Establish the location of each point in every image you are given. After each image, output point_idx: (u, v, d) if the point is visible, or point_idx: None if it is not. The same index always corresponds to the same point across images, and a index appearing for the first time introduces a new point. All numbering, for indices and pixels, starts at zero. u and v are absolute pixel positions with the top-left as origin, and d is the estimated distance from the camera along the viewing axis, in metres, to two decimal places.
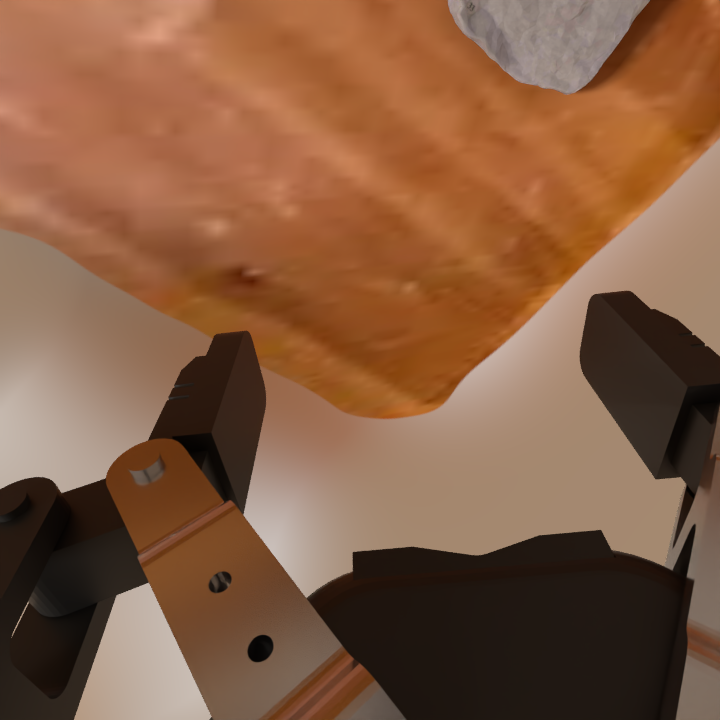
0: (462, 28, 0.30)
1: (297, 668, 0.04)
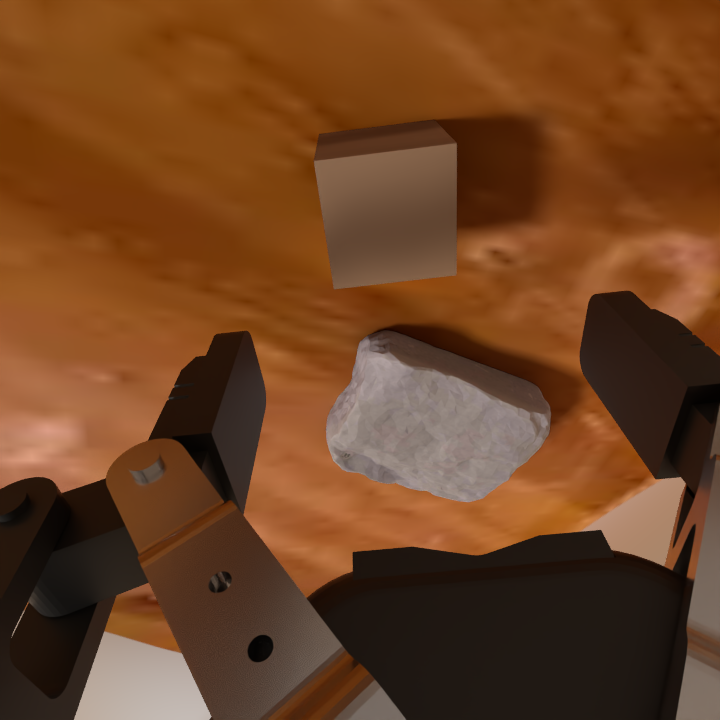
0: (340, 466, 0.29)
1: (297, 668, 0.04)
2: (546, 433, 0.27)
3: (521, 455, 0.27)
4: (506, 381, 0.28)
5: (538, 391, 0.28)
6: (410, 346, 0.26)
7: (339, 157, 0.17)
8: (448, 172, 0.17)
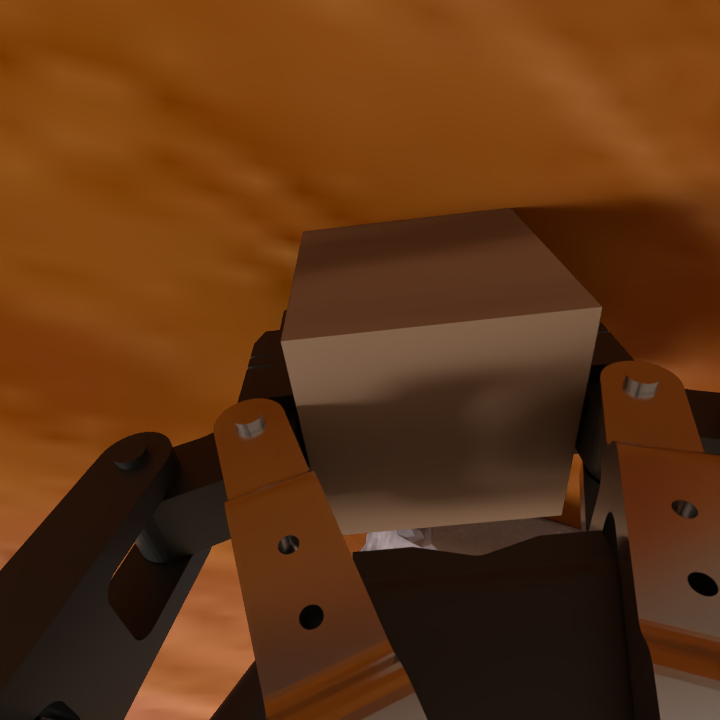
0: None
1: (340, 646, 0.05)
2: None
3: None
4: None
5: None
6: None
7: (337, 332, 0.08)
8: (574, 360, 0.08)
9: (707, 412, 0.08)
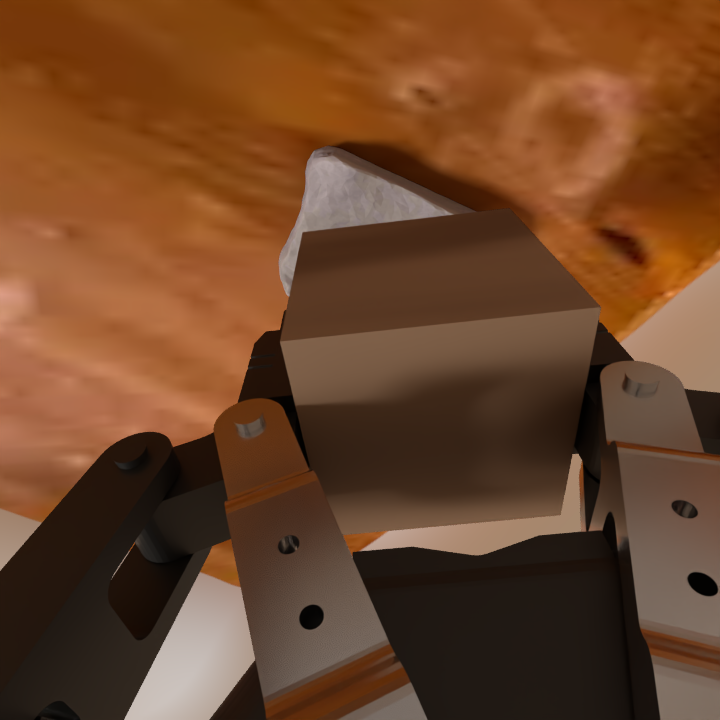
0: None
1: (340, 646, 0.05)
2: None
3: None
4: (455, 205, 0.28)
5: None
6: (356, 159, 0.26)
7: (336, 332, 0.08)
8: (573, 360, 0.08)
9: (707, 412, 0.08)
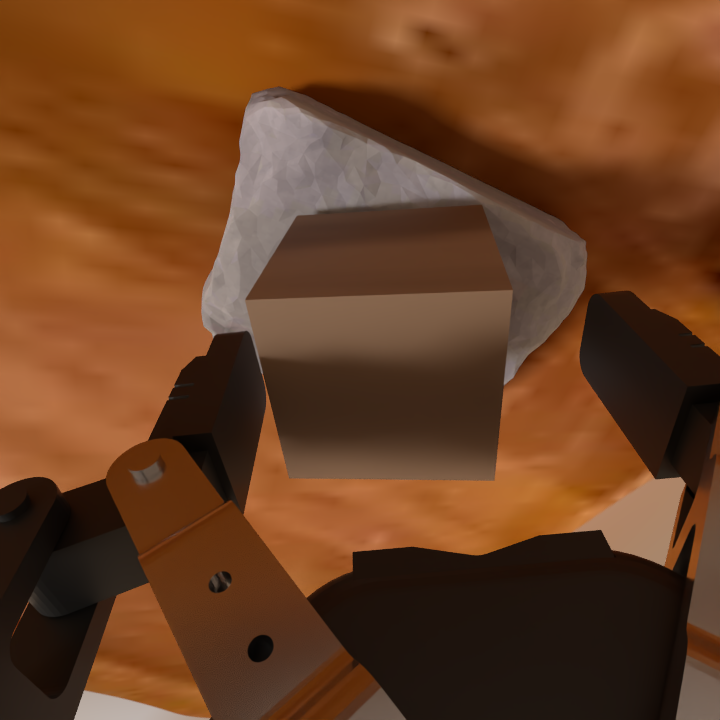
0: None
1: (297, 667, 0.04)
2: (581, 284, 0.15)
3: (536, 324, 0.15)
4: (508, 198, 0.16)
5: (564, 224, 0.17)
6: (330, 112, 0.14)
7: (291, 296, 0.09)
8: (492, 336, 0.09)
9: None
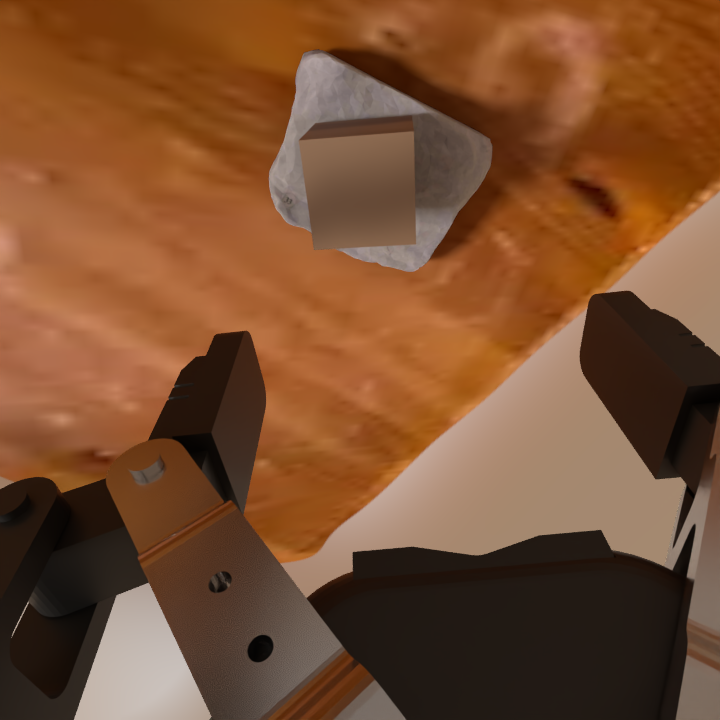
0: None
1: (297, 668, 0.04)
2: (486, 162, 0.27)
3: (461, 185, 0.27)
4: None
5: (481, 133, 0.28)
6: (346, 63, 0.26)
7: (319, 138, 0.21)
8: (407, 155, 0.21)
9: None
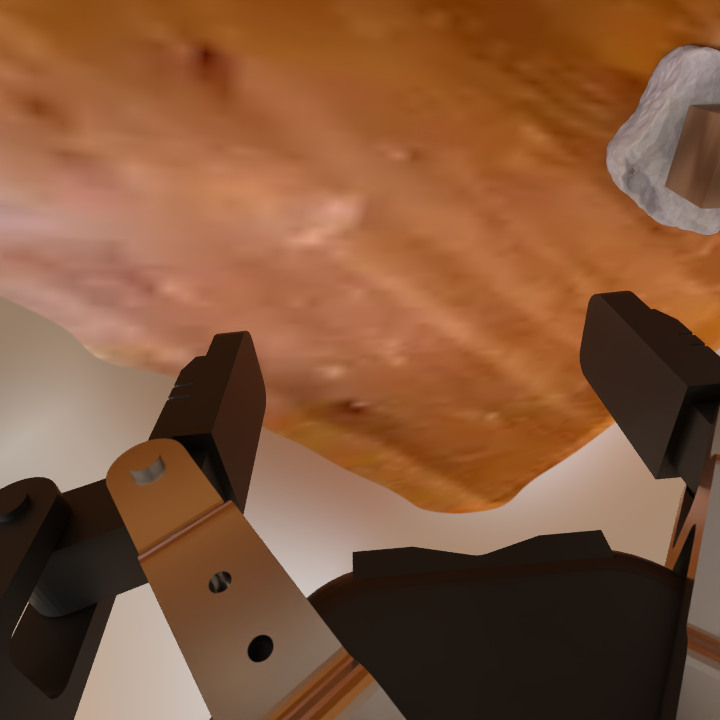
0: (620, 186, 0.35)
1: (297, 668, 0.04)
2: None
3: None
4: None
5: None
6: None
7: None
8: None
9: None
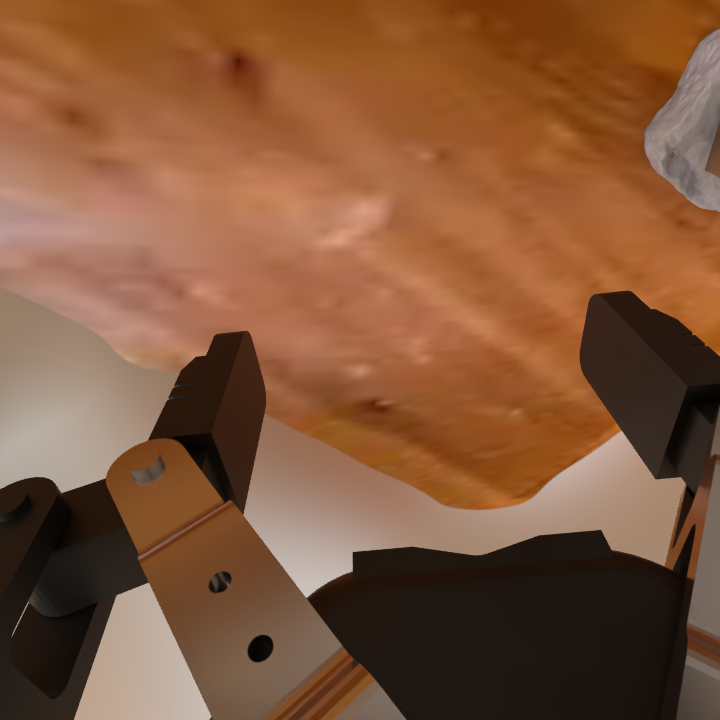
0: (660, 171, 0.35)
1: (297, 667, 0.04)
2: None
3: None
4: None
5: None
6: None
7: None
8: None
9: None
